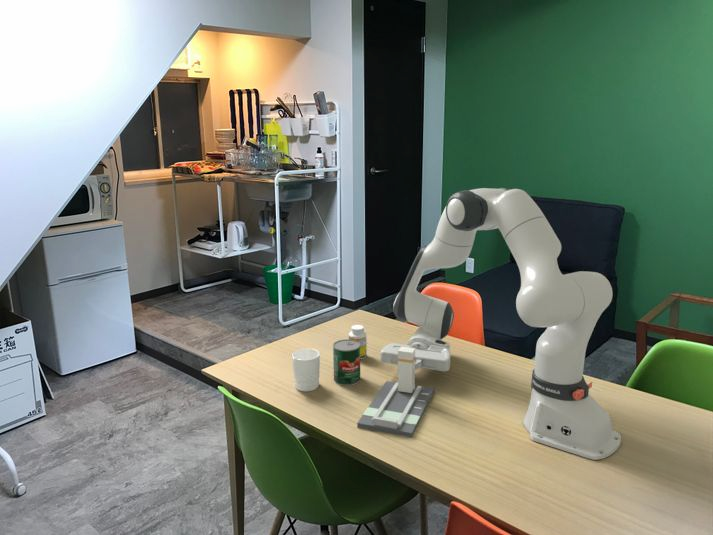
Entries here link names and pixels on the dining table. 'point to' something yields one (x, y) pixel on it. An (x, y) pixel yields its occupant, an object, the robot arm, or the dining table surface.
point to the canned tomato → (346, 362)
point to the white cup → (306, 369)
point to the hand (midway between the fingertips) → (408, 368)
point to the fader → (406, 369)
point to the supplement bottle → (359, 339)
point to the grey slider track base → (396, 410)
